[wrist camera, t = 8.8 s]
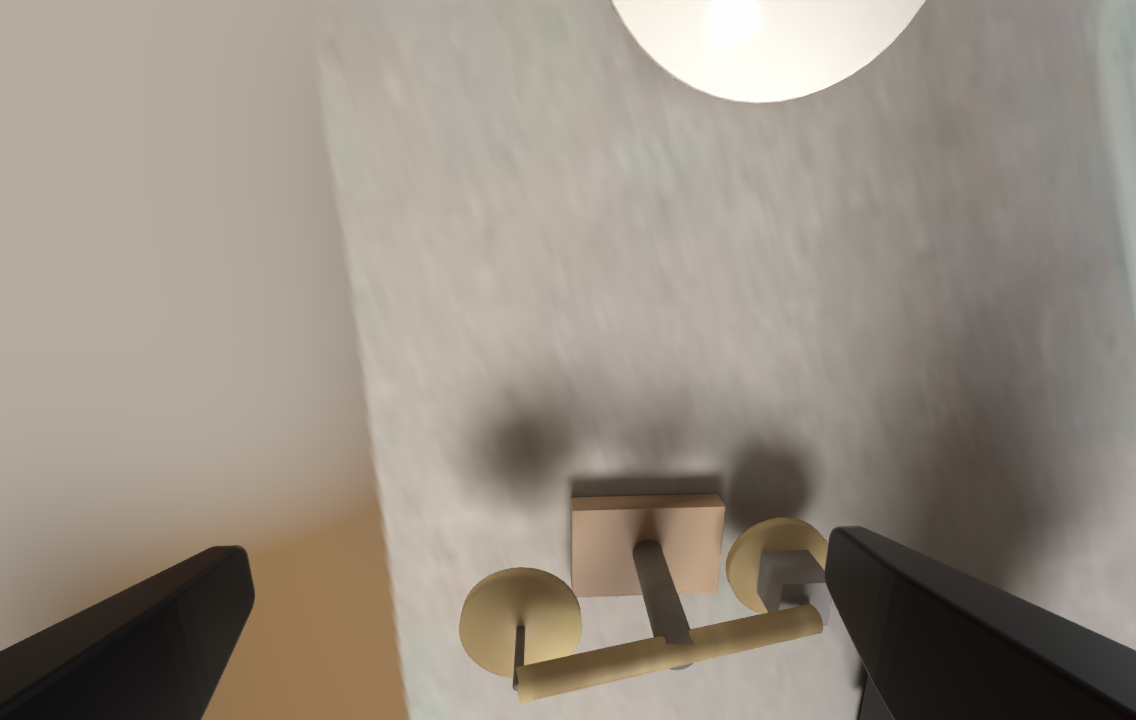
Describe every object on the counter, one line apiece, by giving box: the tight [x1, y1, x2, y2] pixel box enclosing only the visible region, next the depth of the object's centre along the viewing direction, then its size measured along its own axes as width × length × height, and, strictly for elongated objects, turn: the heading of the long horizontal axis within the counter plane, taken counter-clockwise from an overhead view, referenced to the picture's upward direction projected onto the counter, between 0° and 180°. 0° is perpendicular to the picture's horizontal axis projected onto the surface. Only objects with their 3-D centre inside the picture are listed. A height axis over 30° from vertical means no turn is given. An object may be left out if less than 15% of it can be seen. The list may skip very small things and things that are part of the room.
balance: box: [459, 493, 831, 703], centre depth 19 cm, size 14×4×7 cm, turn 90°
